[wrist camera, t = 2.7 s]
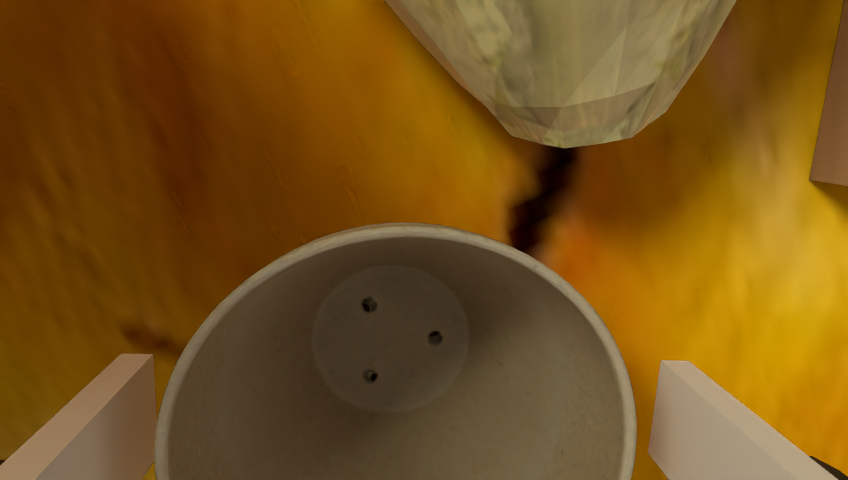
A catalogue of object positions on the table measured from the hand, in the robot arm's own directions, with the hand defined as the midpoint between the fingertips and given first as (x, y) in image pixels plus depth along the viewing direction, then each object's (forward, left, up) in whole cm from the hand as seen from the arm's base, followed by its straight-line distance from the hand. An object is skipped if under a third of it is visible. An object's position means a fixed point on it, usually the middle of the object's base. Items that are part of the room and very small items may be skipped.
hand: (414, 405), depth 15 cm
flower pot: (0, 0, -4) cm, 4 cm away
